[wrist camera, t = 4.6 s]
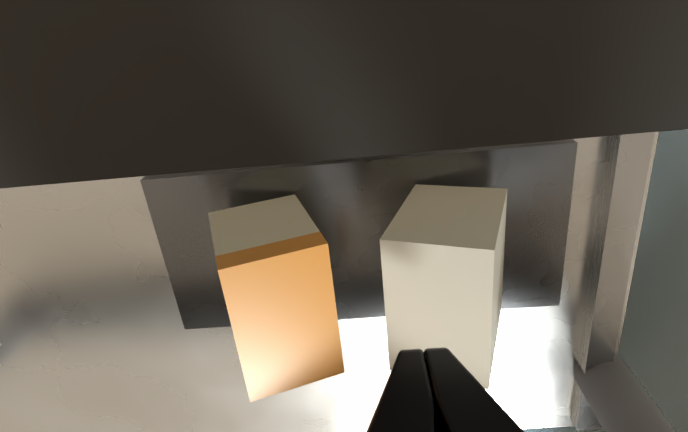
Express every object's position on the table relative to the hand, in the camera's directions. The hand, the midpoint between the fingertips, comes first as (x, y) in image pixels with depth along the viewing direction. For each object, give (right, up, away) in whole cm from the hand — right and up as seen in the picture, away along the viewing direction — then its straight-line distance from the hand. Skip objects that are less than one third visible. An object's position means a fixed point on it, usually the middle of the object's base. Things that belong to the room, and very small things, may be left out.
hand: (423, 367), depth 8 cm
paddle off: (-4, +2, +5) cm, 6 cm away
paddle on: (+2, +2, +4) cm, 5 cm away
